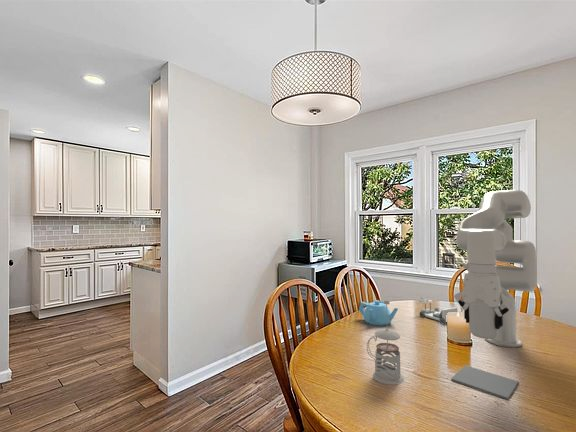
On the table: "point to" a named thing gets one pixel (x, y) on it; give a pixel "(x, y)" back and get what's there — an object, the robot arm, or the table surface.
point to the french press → (387, 357)
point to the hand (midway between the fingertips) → (483, 324)
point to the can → (482, 320)
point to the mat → (486, 382)
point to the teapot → (377, 313)
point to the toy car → (435, 312)
